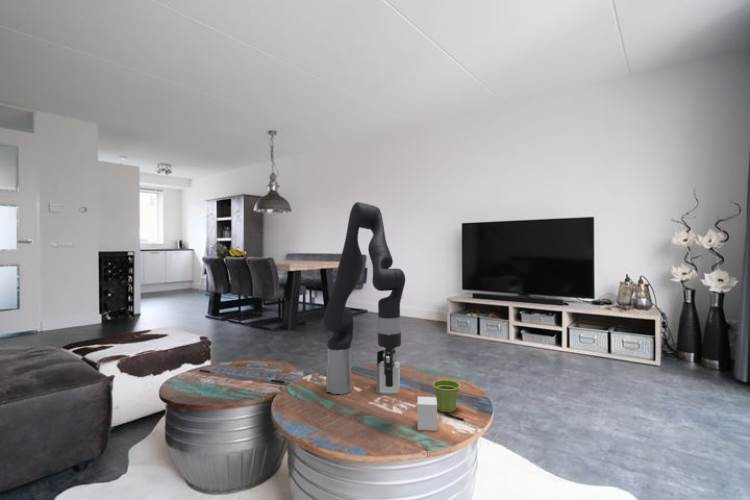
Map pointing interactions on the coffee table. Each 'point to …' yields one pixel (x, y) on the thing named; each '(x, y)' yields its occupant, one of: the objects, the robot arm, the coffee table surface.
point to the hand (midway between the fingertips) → (389, 382)
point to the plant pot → (446, 394)
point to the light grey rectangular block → (427, 413)
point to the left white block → (395, 379)
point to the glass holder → (379, 359)
